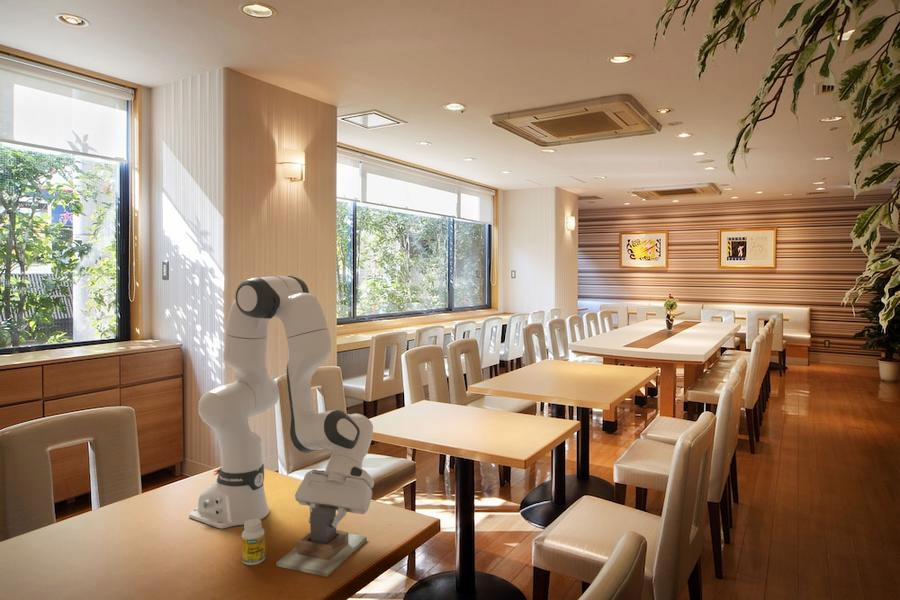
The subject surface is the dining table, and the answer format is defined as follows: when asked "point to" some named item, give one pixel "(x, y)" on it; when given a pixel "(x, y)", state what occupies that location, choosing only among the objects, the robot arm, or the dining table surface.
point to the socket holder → (321, 554)
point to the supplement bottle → (253, 542)
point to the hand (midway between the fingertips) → (321, 525)
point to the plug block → (322, 524)
